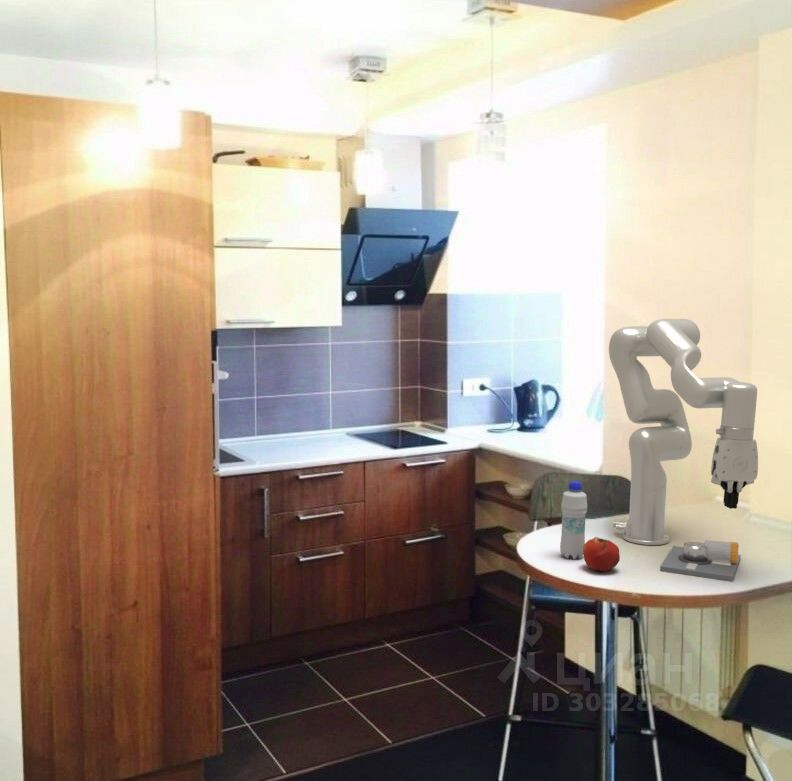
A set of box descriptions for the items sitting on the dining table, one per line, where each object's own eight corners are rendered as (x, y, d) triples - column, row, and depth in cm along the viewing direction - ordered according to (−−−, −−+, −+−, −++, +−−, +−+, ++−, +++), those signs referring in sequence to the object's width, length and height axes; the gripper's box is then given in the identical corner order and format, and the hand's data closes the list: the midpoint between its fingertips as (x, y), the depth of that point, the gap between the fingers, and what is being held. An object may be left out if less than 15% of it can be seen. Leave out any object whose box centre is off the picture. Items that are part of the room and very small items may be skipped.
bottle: (581, 553, 242) (585, 478, 239) (588, 560, 235) (591, 484, 233) (556, 552, 242) (559, 478, 239) (562, 560, 235) (565, 484, 233)
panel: (660, 570, 228) (660, 565, 228) (673, 550, 246) (673, 544, 246) (732, 581, 221) (732, 575, 220) (740, 559, 239) (740, 554, 238)
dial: (683, 560, 232) (684, 541, 231) (682, 553, 237) (683, 535, 237) (738, 565, 228) (739, 546, 227) (736, 559, 234) (737, 540, 233)
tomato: (592, 561, 235) (593, 531, 234) (625, 569, 229) (627, 538, 228) (574, 570, 228) (576, 538, 227) (608, 578, 222) (610, 545, 221)
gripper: (715, 436, 217) (709, 512, 219) (773, 436, 219) (766, 511, 222) (700, 430, 224) (694, 503, 227) (756, 430, 226) (750, 502, 229)
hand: (730, 506), depth 224 cm, fingers closed
